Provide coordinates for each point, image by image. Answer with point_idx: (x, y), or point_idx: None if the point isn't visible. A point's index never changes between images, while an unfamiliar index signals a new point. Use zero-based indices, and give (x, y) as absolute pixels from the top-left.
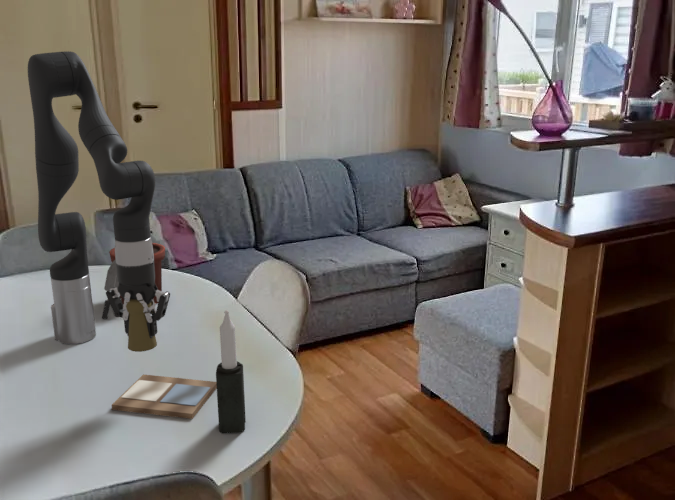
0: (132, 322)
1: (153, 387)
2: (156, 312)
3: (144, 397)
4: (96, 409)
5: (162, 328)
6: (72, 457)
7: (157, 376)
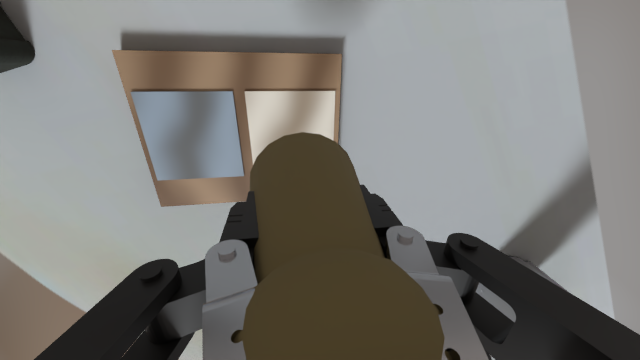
0: (339, 209)
1: None
2: (131, 318)
3: (280, 101)
4: (374, 49)
5: None
6: None
7: None
